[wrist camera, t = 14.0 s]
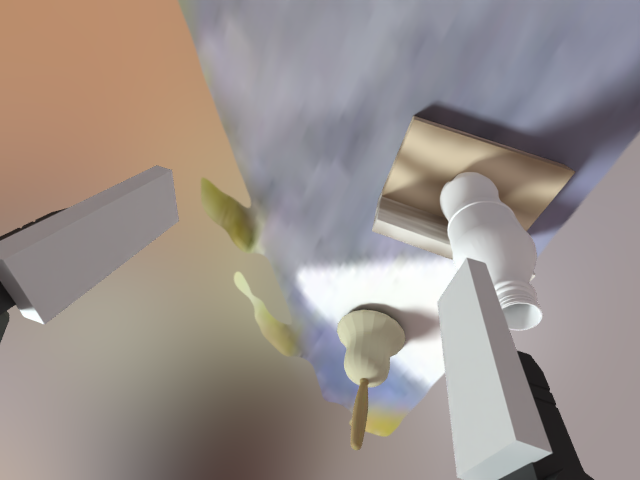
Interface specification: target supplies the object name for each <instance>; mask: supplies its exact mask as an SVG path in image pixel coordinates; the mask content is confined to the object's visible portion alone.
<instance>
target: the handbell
mask: <svg viewBox="0 0 640 480" xmlns="http://www.w3.org/2000/svg"><path fill="white" fill-rule="evenodd" d="M337 333H338V335H339V338H340V341H341V342H342V343H343V344H344V345H345V347H346V348H347V350H346V354H345V360H344V368H345V371H346V373H347V375H348V377H349V378H350V379H351V380H352V381H353V382H354V383H356V384H358V385H360V386H359V389H358V392H357V396H356V399H355V404H354V409H353V416H352V426H351V446H352V448H353V449H354V450H359V449H360V448H361V446H362V442H363V437H364V432H365V427H366V421H367V413H368V387H375V386H378V385H380V384H382V383H383V382H384V381H385V380H386V378H387V376H388V373H389V368H390V357H391V356H393V355H395V354H397V353H398V352H399V351H400V350H401V349H402V348H403V346H404V343H405V340H406V338H405V334H404V330H403V329H402V328H401V326H400V325H399V324H398V322H397V321H395V320H394V319H392V318H391V317H389V316H388V315H386V314H383V313H380V312H377V311H372V310H359V311H353V312H351V313H349V314H347V315H345V316H344V317H342V319H341V320H340V322H339V323H338V328H337Z"/></svg>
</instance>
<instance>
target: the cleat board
mask: <svg viewBox="0 0 640 480" xmlns="http://www.w3.org/2000/svg"><path fill="white" fill-rule="evenodd" d="M465 172H476V173H479V174H481V175H483V176H485V177H487V178H489V179H490V180H491V181H492V182H493V183H494V184H495V186H496V187H497V190H498V196H499V199H500V201H501V202H502V203H504V204H506V205H507V206H508V207H509V208H510V209H511V210H512V211H513V212H514V214H515V216H516V218H517V220H518V221H519V223H520V224H521V226H522V227H523V229H524V230H525V231H527V230H528V229H529V228H530V227H531V225H532V224H533V223H534V222H535V220H536V219H537V218H538V217H539V216H540V214H541V213H542V212H543V211H544V210H545V208H546V207H547V206H548V205H549V204H550V202H551V201H552V200H553V199H554V197H555V196H556V195H557V194H558V193H559V191H560V190H561V189H562V188H563V187H564V185H565V184H566V183H567V182H568V180H569V179H570V178H571V177H572V176H573V174H574V173H575V171H573V170H572V169H570V168H569V167H567V166H566V165H564V164H561V163H558V162H555V161H552V160H549V159H545V158H542V157H539V156H536V155H533V154H530V153H527V152H524V151H521V150H518V149H515V148H512V147H509V146H506V145H502V144H499V143H496V142H493V141H490V140H487V139H484V138H481V137H478V136H475V135H472V134H469V133H466V132H463V131H459V130H456V129H453V128H450V127H447V126H444V125H441V124H438V123H435V122H432V121H429V120H426V119H423V118H420V117H416V116H413V118H412V120H411V123H410V125H409V127H408V130H407V132H406V134H405V137H404V139H403V142H402V144H401V146H400V149H399V151H398V154H397V156H396V158H395V161H394V163H393V166H392V168H391V170H390V173H389V175H388V178H387V180H386V182H385V185H384V187H383V189H382V192H381V194H380V197H379V199H378V204H377V209H376V214H375V219H374V224H373V229H372V231H373V232H376V233H379V234H382V235H385V236H387V237H390V238H393V239H396V240H399V241H401V242H404V243H407V244H410V245H413V246H415V247H418V248H421V249H424V250H427V251H429V252H432V253H435V254H438V255H441V256H443V257H446V258H449V259H452V260H453V252H452V248H451V244H450V240H449V237H448V223H449V222H448V220H447V218H446V217H445V216H444V214H443V212H442V210H441V206H440V195H441V191H442V189H443V187H444V185H445V184H446V183H447V182H448V181H449V182H450V181H452V180H453V179H454V178H455V177H456V176H457V175H458V174H460V173H465ZM535 276H536V275H535V273H534V272H533V275H532V277H531V279H530V281H531V280H532V279H533V278H534V277H535Z"/></svg>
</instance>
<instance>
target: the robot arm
mask: <svg viewBox="0 0 640 480" xmlns="http://www.w3.org/2000/svg"><path fill="white" fill-rule="evenodd" d="M178 221H179V218H178V212H177V204H176V197H175V189H174V182H173V176H172V170H170V169H167V168H163V167H160V166H154V167H152V168H150V169H148V170H146V171H144V172H142V173H140V174H138V175H136V176H134V177H131V178H129V179H127V180H125V181H123V182H121V183H119V184H117V185H115V186H113V187H111V188H109V189H107V190H105V191H103V192H100V193H98V194H97V195H94V196H92V197H90V198H88V199H86V200H84V201H82V202H80V203H78V204H76V205H73V206H71V207H69V208H66V209H63V210H59V211H55V212H51V213H49V214H47V215H45V216H43V217H41V218H39V219H37V220H36V221H35V222H30V223H28V224H26V225H24V226H23V227H22V228H17V229H15V230H13V231H11V232H9V233H7V234H5V235H3V236H1V237H0V342H1V340H2V337H3V334H4V332H5V329H6V327H7V324H8V322H9V313H8V312H7V310H8V309H10V308H11V307H13V306H14V305H17V307H18V309H19V310H20V311H21V313H22V314H23V316H24V317H26V318H29V319H32V320H34V321H37V322H40V323H42V324H46V323H47V322H48V321H50V320H51V319H52V318H54V317H55V316H56V315H58V314H59V313H60V312H61V311H63V310H64V309H65V308H67V307H68V306H69V305H70V304H72V303H73V302H74V301H76V300H77V299H78V298H80V297H81V296H82V295H83V294H85V293H86V292H87V291H89V290H90V289H91V288H93V287H94V286H95V285H96V284H98V283H99V282H100V281H102V280H103V279H104V278H105V277H106V276H108V275H109V274H111V273H112V272H113V271H115V270H116V269H117V268H118V267H120V266H121V265H122V264H124V263H125V262H126V261H128V260H129V259H130V258H131V257H133V256H134V255H135V254H137V253H138V252H139V251H140V250H142V249H143V248H144V247H146V246H147V245H148V244H150V243H151V242H152V241H154V240H155V239H156V238H157V237H159V236H160V235H161V234H162V233H164V232H165V231H166V230H168V229H169V228H170V227H171V226H173V225H174V224H175V223H177V222H178ZM438 311H439V320H440V329H441V338H442V347H443V356H444V365H445V374H446V383H447V391H448V401H449V410H450V418H451V427H452V436H453V445H454V454H455V463H456V472H457V477H458V478H460V479H463V480H594V479H593V478H591V477H590V476H589V475H587V474H586V473H585V472H584V470H583V468H582V466H581V464H580V461H579V459H578V456H577V454H576V451H575V449H574V447H573V444H572V442H571V439H570V437H569V434H568V432H567V429H566V427H565V425H564V422H563V420H562V417H561V415H560V413H559V410H558V408H556V406H555V405H556V403H555V400H554V398H553V395H552V393H550V392H549V391H550V388H549V386H548V383H547V381H546V378H545V376H544V373H543V371H542V370H541V369H540V367H539V366H538V365H537V363H536V362H535V361H534V359H533V358H532V357H531V355H529V354H526V353H523V352H520V351H517V350H516V347H515V345H514V342H513V339H512V336H511V333H510V331H509V328H508V325H507V322H506V319H505V316H504V313H503V311H502V308H501V305H500V302H499V299H498V296H497V294H496V291H495V288H494V285H493V282H492V279H491V276H490V274H489V271H488V268H487V265H486V263H484V262H481V261H477V260H474V259H471V258H467V257H466V259H465V260H464V262H463V264H462V265H461V267H460V268H459V270H458V271H457V273H456V274H455V276H454V277H453V279H452V281H451V282H450V284H449V285H448V287H447V288H446V290H445V291H444V293H443V294H442V296H441V298H440V299H439V301H438Z"/></svg>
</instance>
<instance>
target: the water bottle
mask: <svg viewBox="0 0 640 480" xmlns="http://www.w3.org/2000/svg"><path fill="white" fill-rule="evenodd" d="M440 206H441V210H442V212H443V214H444V216H445V217H446V218H447V220H448V222H449V223H448V237H449V240H450V244H451V248H452V252H453V261H454V264H455V267H456V269H457V271H458V270H459V268H460V267H461V265H462V264H463V262H464V260H465V259H466V257H467V258H471V259H474V260H477V261H481V262H484V263H486V265H487V268H488V271H489V274H490V276H491V279H492V282H493V285H494V288H495V291H496V294H497V296H498V299H499V302H500V305H501V308H502V311H503V313H504V316H505V319H506V322H507V325H508V328H509V329H511V330H526V329H530V328H532V327H534V326H536V325H537V324H538V323H539V322H540V321H541V319H542V316H543V315H542V310H541V308H540V306H539V304H538V303H537V295H536V291H535V289H534V287H533V286H532V285H531V284H529V282H530V279H531V277H532V275H533V272H534V269H535V265H536V259H537V253H536V247H535V244H534V242H533V239H532V238H531V236H530V235H529V234H528V233H527V232H526V231H525V230H524V229H523V227H522V226H521V224H520V223H519V221H518V220H517V218H516V216H515V214H514V212H513V211H512V210H511V209H510V208H509V207H508V206H507V205H506V204H504V203H502V202H501V201H500V199H499V196H498V190H497V187H496V186H495V184H494V183H493V182H492V181H491V180H490V179H489V178H487V177H485V176H483V175H481V174H479V173H476V172H465V173H460V174H458V175H457V176H456V177H455V178H454V179H453V180H452V181H450V182H449V181H448V182H447V183H446V184H445V185H444V187H443V189H442V191H441V195H440Z"/></svg>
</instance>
